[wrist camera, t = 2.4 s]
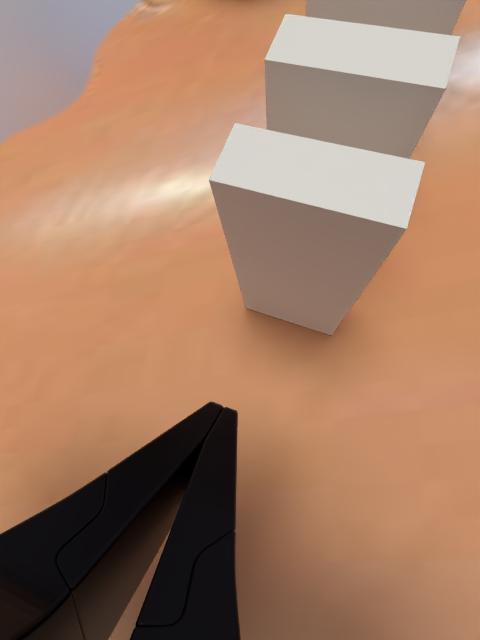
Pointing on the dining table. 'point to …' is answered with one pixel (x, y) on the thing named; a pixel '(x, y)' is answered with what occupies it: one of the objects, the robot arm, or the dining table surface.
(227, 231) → the domino
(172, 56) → the dining table surface
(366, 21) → the domino
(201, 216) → the dining table surface
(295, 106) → the domino
